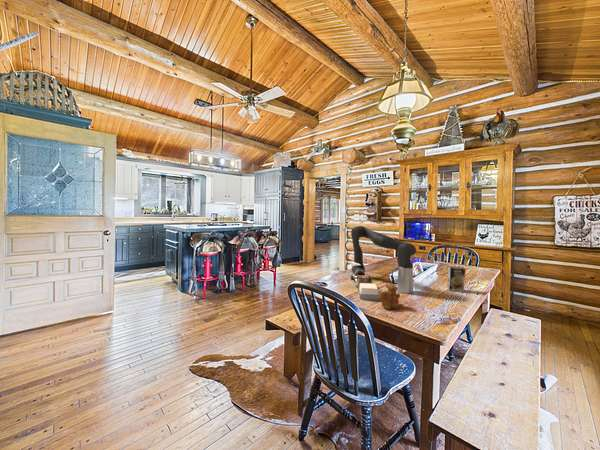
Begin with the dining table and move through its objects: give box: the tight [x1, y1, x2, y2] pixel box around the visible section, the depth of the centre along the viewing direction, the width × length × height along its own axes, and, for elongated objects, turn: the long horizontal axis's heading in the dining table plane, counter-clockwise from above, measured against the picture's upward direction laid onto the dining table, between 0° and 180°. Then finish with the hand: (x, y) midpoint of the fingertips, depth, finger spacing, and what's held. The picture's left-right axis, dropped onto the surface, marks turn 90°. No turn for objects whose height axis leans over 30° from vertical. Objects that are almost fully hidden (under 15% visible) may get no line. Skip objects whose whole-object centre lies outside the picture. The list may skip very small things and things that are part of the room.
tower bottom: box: [358, 289, 379, 302], centre depth 165 cm, size 11×11×4 cm
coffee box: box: [446, 266, 466, 293], centre depth 179 cm, size 9×6×16 cm
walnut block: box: [357, 275, 367, 291], centre depth 177 cm, size 5×5×10 cm
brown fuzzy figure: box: [378, 283, 404, 311], centre depth 149 cm, size 10×14×13 cm
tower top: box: [359, 282, 379, 296], centre depth 164 cm, size 10×10×4 cm
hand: (361, 281), depth 179 cm, fingers open, 8 cm apart
